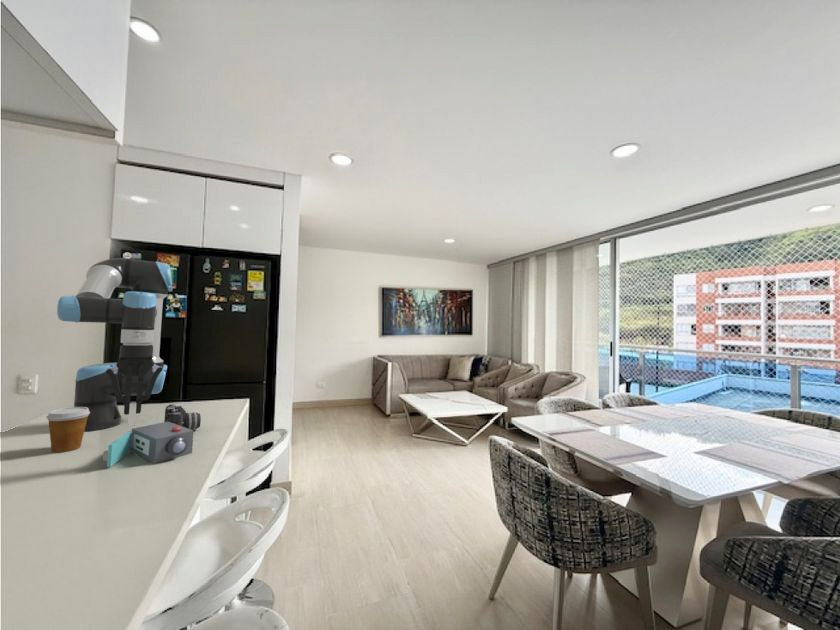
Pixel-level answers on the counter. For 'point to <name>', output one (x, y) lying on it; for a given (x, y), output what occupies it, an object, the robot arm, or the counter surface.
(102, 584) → the counter surface
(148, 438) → the grey boxy piece
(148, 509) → the counter surface
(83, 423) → the disposable coffee cup
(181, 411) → the camera
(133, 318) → the robot arm
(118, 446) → the door
